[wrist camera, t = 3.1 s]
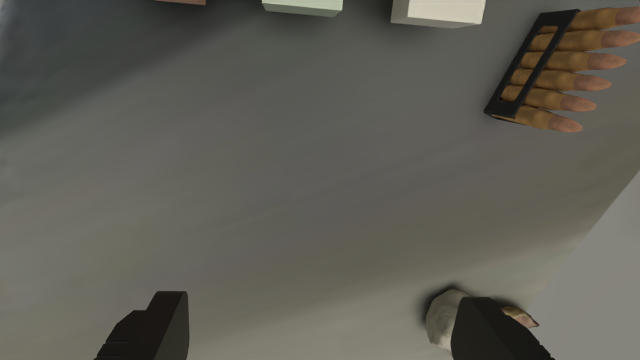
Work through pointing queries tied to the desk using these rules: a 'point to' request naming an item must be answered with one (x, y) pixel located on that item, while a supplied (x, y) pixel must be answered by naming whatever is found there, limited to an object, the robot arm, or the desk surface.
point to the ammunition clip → (561, 66)
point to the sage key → (305, 7)
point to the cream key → (438, 12)
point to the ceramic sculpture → (445, 314)
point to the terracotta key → (187, 1)
